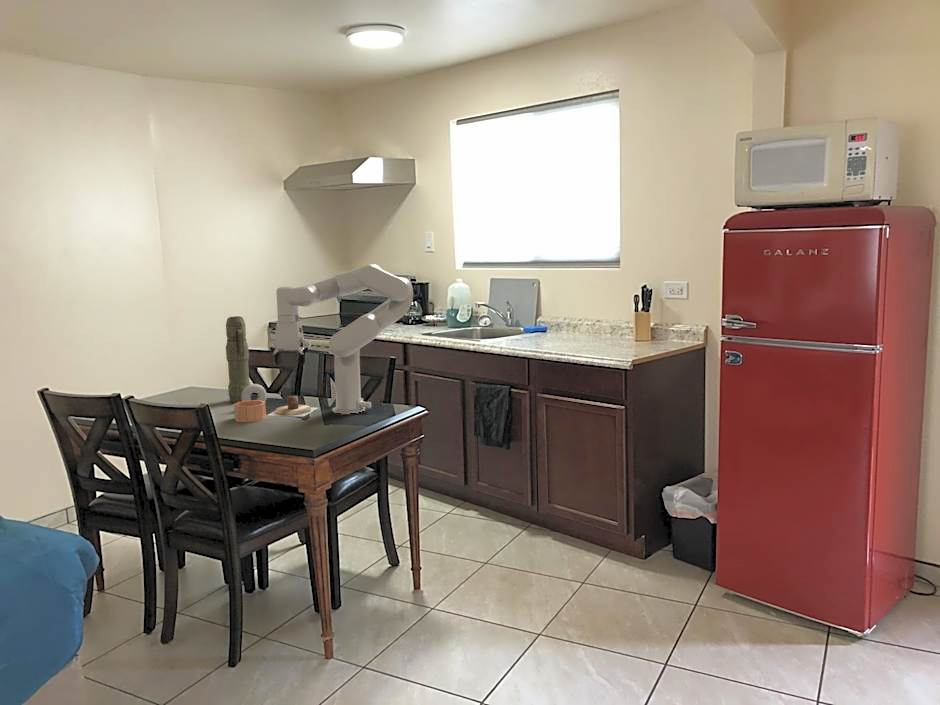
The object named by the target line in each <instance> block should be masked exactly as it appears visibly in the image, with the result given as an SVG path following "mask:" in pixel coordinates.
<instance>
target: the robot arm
mask: <svg viewBox="0 0 940 705" xmlns="http://www.w3.org/2000/svg"><path fill="white" fill-rule="evenodd" d="M364 290H365V291H366V290H369V291H372V292H375V293H376V294H378V295H381V296H383V297H384V298H386V299H387V300H386V301H384V302H383V303H381V304H380V305H378V306H376V308H374V309H373V310H371V311H369V312H367V313H366V314H363V315H361V316H360V317H358V318H357V319H355V320H354V321H352V322H351V323H349V324H348V325H346V326H345V327H343V328H342V329H340V330H338V331H337V332H335V333H334V334H333V335H332V336H331V337H330V339H329V341H328V342H329V343H328V349H329V351H330V353H331V354H332V355H333V356H334V363H333V364H334V366H333V367H334V386H335V387H334V388H335V390H334V391H335V407H333V408H331V410H332V411H333V412H334V414H336V413H341V414H340V415H351V414H350V413H356V414H360V413H359V412H361V413H363V412H362V411H364V412H365V411H366V410H365V409H366V408H372V402H371V401H364V398H363V397H362V396H361V395H362V394H361V393H362V392H361V391H362V390H361V364H360V363H361V360H360V358H361V357H360V356H361V355H360V354H361V351H360V350H361V349H362V348H363V347H365V346H366V345H368V344H369V343H371V342H372V341H373V340H375V339H376V338H377V337H378V336H379V335H380V334H381V333H382V332H384V331H385V330H387V329H388V328H389V327H390V326H392V325H393V324H395V323H396V322H397V321H399V320H400V319H402V318H403V317H404V316H405V315H406V314H407V312H408V311H409V310H410V308H411V306H412V304H413V300H414V287H413V285H412V282H411V281H409V279H408V278H406V277H403V276H400V277H399V276H396V275H394V274H391V273H389V272H387V271H385V270H384V269H382V268H381V266H379V265H378V264H375V263H369V264H365V265H362V266H360V267H357V268H353V269H351V270H347V271H345V272H340V273H338V274H335V275H334V276H333V277H330V278H328V279H324V280H321V281H318V282H316V283H312V284H307V285H305V286H300V287H295V286H279V287H278V288H276V308H277V310H276V311H277V312H276V313H277V323H276V324H275V331H274V334H275V335H274V339H272V340H270V341H268V342H267V345H268V347H269V350H270V351H271V352H272V353H273V355H274V362H275V365H276V366H277V365H281V364H282V354H281V353H280V352H281V351H282V350H284V351H285V350H286V351H288V350H289V351H290V350H291V351H295V350H297V351H298V353H300V354H299V355H298V356H299V358H298V359H299V365H300V366H303V365H305V364H306V361H307V360H306V354H307V353H308V352H309V351H310V348H311V347H312V342H310V340H307V339H305V338H304V337H305V336H304V331H303V326H302V323H301V322H299V321H302V319H303V318H302V316H299V307H304V308H305V307H306V308H307V307H310V306H313V305H315V304H319V303H322V302H325V301H328V300H331V299H335V298H340V297H345V296H349V295H352V294H355V293H359V292H361V291H364ZM274 344H275V346H274ZM333 412H332V413H333Z"/></svg>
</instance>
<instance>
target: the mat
mask: <svg viewBox="0 0 940 705" xmlns="http://www.w3.org/2000/svg"><path fill="white" fill-rule="evenodd" d="M310 407H311V406H310ZM318 409H319V407H315V406H313V407H311V411H310V412H308V413H304V414H299V415H279V414H276V410H274V411H272V412H269V413H267V414H266V417H267V416H268V417H269V416H270V417H272V416H273V417H299V418H300V417H305V416H307V415H309V414H311V413H313V412H315V411H316V410H318ZM314 410H315V411H314Z"/></svg>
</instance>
